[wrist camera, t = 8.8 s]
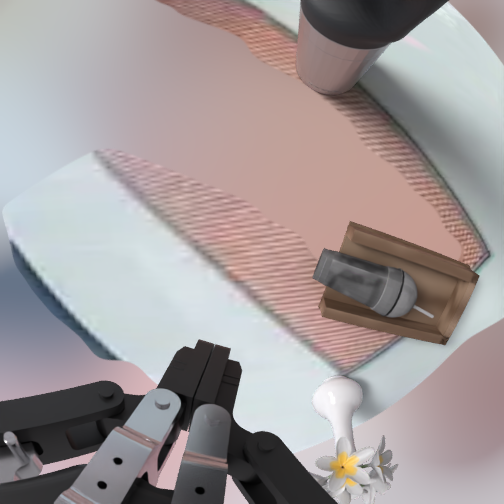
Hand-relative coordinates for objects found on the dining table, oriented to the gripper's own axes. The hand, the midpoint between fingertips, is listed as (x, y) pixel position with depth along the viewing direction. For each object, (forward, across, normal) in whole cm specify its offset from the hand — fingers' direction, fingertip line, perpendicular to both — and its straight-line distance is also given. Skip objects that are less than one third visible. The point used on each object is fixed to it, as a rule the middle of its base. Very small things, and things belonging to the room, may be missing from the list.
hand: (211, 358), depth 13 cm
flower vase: (+30, -22, +26) cm, 45 cm away
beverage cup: (+28, -9, +3) cm, 29 cm away
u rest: (+30, -24, +3) cm, 39 cm away
